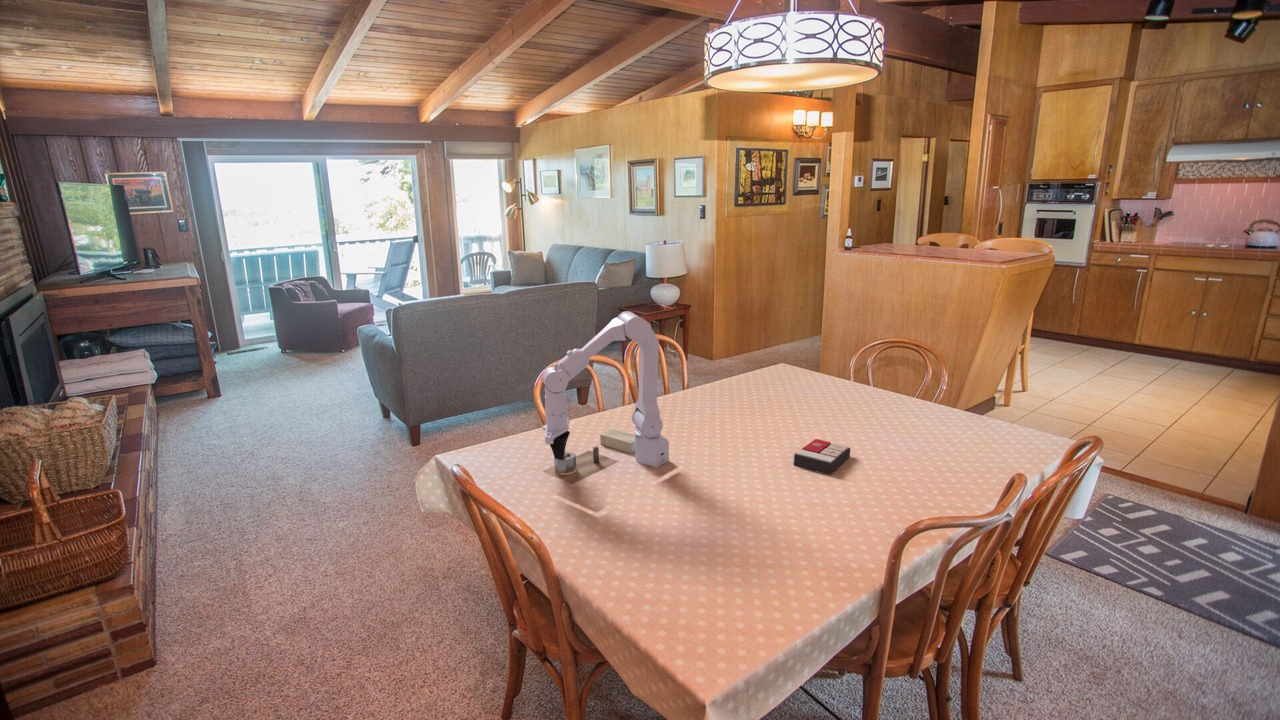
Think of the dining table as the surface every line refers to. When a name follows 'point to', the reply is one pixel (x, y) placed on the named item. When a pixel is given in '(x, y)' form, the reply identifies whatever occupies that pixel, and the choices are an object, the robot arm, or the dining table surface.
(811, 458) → the calculator
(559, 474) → the board
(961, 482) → the dining table surface
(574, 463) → the collar
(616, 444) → the skincare box
